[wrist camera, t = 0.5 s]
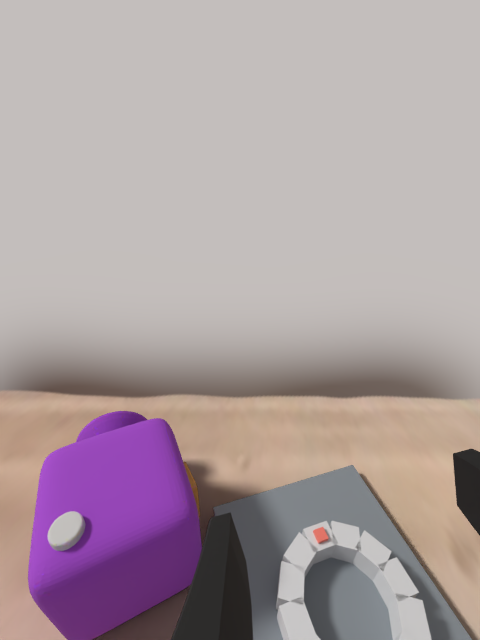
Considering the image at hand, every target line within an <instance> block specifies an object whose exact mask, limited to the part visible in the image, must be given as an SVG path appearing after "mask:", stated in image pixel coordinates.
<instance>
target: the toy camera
mask: <svg viewBox="0 0 480 640" xmlns="http://www.w3.org/2000/svg"><path fill="white" fill-rule="evenodd" d="M199 517H200V508H199V499H198V489H197V485H196V482H195V480H194V478H193V476H192V474H191V472H190V470H189V468H188V466H187V464H186V462H183V460H182V457H181V454H180V451H179V448H178V445H177V442H176V439H175V436H174V434H173V431H172V429H171V427H170V426H169V424H168V423H167V422H166V421H165V420H163V419H159V418H157V419H150V420H147V419H146V418H145V417H144V416H142V415H140V414H138V413H134V412H129V411H118V412H112V413H108V414H105V415H102V416H100V417H98V418H96V419H94V420H93V421H91V422H90V423H89V424H88V425H87V426H85V427H84V429H83V430H82V431H81V432H80V434H79V436H78V438H77V441H76V443H73V444H70V445H68V446H65V447H62V448H60V449H58V450H56V451H54V452H52V453H51V454H50V455H48V456H47V458H46V459H45V461H44V463H43V466H42V469H41V473H40V479H39V486H38V494H37V501H36V509H35V517H34V525H33V533H32V540H31V550H30V559H29V571H28V582H29V590H30V593H31V595H32V597H33V599H34V601H35V603H36V604H37V605H38V607H39V608H40V609H41V610H42V611H43V613H44V614H45V615H46V616H47V617H48V618H49V620H50V621H51V622H52V623H53V624H54V625H55V626H56V628H57V629H58V630H59V631H60V632H61V633H62V634H63V635H64V636H65V637H66V638H67V639H68V640H92V639H94V638H96V637H98V636H100V635H102V634H104V633H106V632H108V631H110V630H111V629H113V628H115V627H117V626H119V625H121V624H122V623H124V622H126V621H128V620H130V619H131V618H133V617H135V616H137V615H139V614H140V613H142V612H144V611H146V610H148V609H150V608H151V607H153V606H155V605H157V604H159V603H160V602H162V601H164V600H166V599H168V598H169V597H171V596H173V595H175V594H176V593H178V592H180V591H182V590H183V589H185V588H186V587H188V586H189V585H191V583H192V580H193V577H194V574H195V571H196V568H197V564H198V561H199V558H200V554H201V551H202V543H201V534H200V524H199Z"/></svg>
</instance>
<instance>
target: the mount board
mask: <svg viewBox="0 0 480 640" xmlns="http://www.w3.org/2000/svg"><path fill="white" fill-rule="evenodd" d="M213 508H214V517H215V516H219V515H222V514H226V513H230V512H231V515H232V518H233V521H234V525H235V528H236V531H237V534H238V537H239V540H240V543H241V546H242V549H243V553H244V556H245V559H246V563H247V571H248V579H249V587H250V595H251V604H252V625H253V640H472V639H471V637H470V636H469V634H468V633H467V632H466V630H465V629H464V627H463V626H462V624H461V623H460V621H459V620H458V618H457V617H456V615H455V614H454V612H453V611H452V610H451V608H450V607H449V605H448V604H447V602H446V601H445V599H444V598H443V596H442V595H441V593H440V592H439V591H438V589H437V588H436V586H435V585H434V583H433V582H432V580H431V579H430V577H429V576H428V574H427V573H426V571H425V570H424V569H423V567H422V566H421V564H420V563H419V561H418V560H417V558H416V557H415V555H414V554H413V552H412V551H411V549H410V548H409V547H408V545H407V544H406V542H405V541H404V539H403V538H402V536H401V535H400V533H399V532H398V530H397V529H396V528H395V526H394V525H393V523H392V522H391V520H390V519H389V517H388V516H387V514H386V513H385V511H384V510H383V508H382V507H381V506H380V504H379V503H378V501H377V500H376V498H375V497H374V495H373V494H372V492H371V491H370V489H369V488H368V487H367V485H366V484H365V482H364V481H363V479H362V478H361V476H360V475H359V473H358V472H357V470H356V469H355V467H354V466H353V465H351V466H347V467H344V468H341V469H338V470H334V471H331V472H328V473H324V474H321V475H318V476H315V477H311V478H308V479H305V480H301V481H298V482H295V483H292V484H288V485H285V486H282V487H278V488H275V489H272V490H269V491H265V492H262V493H259V494H255V495H252V496H249V497H246V498H242V499H239V500H236V501H232V502H229V503H226V504H222V505H219V506H216V507H213Z"/></svg>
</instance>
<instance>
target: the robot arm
mask: <svg viewBox="0 0 480 640" xmlns="http://www.w3.org/2000/svg"><path fill="white" fill-rule="evenodd" d="M453 460H454V473H455V486H456V498H457V506H458V507H459V508H460V510H461V511H462V513H463V514H464V515H465V517H466V518H467V519H468V521H469V522H470V523H471V525H472V526H473V527H474V529H475V530H476V531H477V533H478V534H479V535H480V452H478V451H476V450H474V449H469V450H465V451H461V452H457V453H454V454H453ZM171 640H253V625H252V604H251V595H250V587H249V579H248V571H247V563H246V559H245V556H244V553H243V549H242V546H241V543H240V540H239V537H238V534H237V531H236V528H235V525H234V521H233V518H232V515H231V512H230V513H226V514H222V515H219V516H215V517H212V518H211V519H210V521H209V524H208V528H207V532H206V536H205V540H204V544H203V547H202V551H201V554H200V558H199V561H198V564H197V568H196V571H195V574H194V577H193V580H192V583H191V586H190V589H189V592H188V595H187V598H186V601H185V604H184V607H183V609H182V612H181V615H180V617H179V620H178V623H177V625H176V628H175V631H174V633H173V636H172V639H171Z"/></svg>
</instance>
